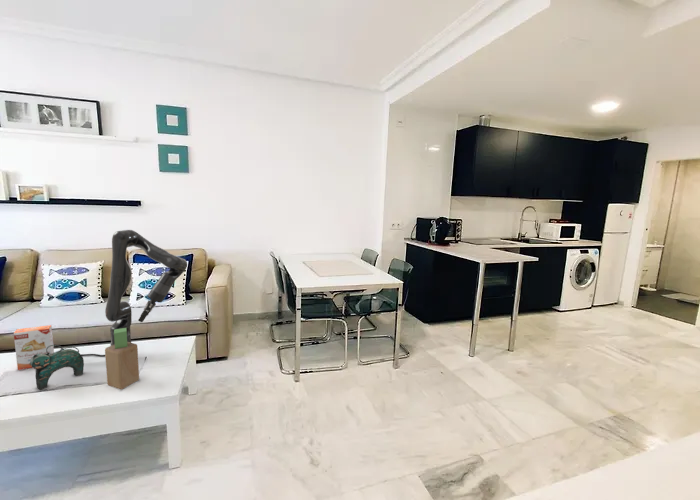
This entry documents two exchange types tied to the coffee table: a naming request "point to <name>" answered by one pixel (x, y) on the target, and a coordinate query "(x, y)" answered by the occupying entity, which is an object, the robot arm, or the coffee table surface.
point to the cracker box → (32, 344)
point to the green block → (120, 338)
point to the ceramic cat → (55, 364)
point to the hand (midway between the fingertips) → (141, 319)
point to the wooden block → (122, 365)
